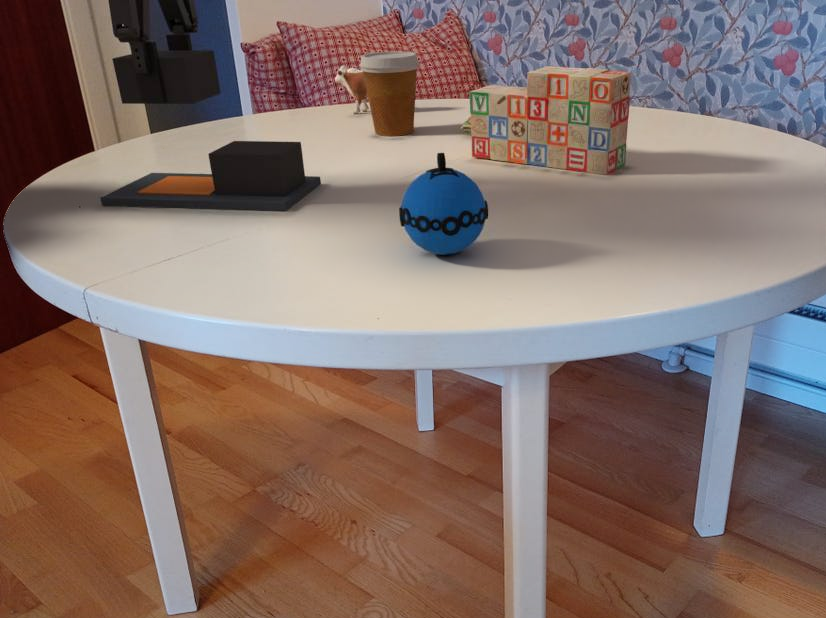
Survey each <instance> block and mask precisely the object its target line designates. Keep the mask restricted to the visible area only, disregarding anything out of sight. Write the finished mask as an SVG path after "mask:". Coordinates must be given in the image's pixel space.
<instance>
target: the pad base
mask: <svg viewBox="0 0 826 618" xmlns="http://www.w3.org/2000/svg"><path fill="white" fill-rule="evenodd" d="M207 155H208V159H209V160H208V161H209V167H210V173H184V172H183V173H179V172H150V173H148V174H146V175H144V176H142V177H140V178H138V179H136V180H133V181H132V182H129V183H127V184H126V185H122V187H119V188H117V189H115V190H113V191H111V192H108V193H106V194H104V195H103V196H101V197H99V200H100V204H101V206H107V207H134V208H135V207H136V208H137V207H139V208H167V209H169V208H172V209H205V210H232V211H233V210H237V211H239V210H240V211H267V212H268V211H271V212H273V211H274V212H287V211H288V210H289V209H290V208H292V207H293V206H294V205H296V204H297V203H298V202H299V201H300V200H302V199H303V198H305V197H306V196H307V195H309V194H310V193H311V192H313V191H314V190H316V189H317V188H318V187H319V186H321V184H322V180H321V176H314V175H313V176H312V175H310V176H309V175H306V172H305V165H304V157H303V148H302V142H301V141H269V140H267V141H266V140H265V141H264V140H263V141H261V140H233V141H231V142H229V143H227V144H225V145H223V146H221V147H219V148H217V149H215V150H213V151H211V152H209V153H208V154H207Z"/></svg>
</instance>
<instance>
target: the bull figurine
mask: <svg viewBox="0 0 826 618" xmlns="http://www.w3.org/2000/svg"><path fill="white" fill-rule="evenodd" d="M334 82H335V83H340V84H341V85H342V86H343V87H345V88H346V90H347V92H348V93H349V94H350V95H351V96H352V98H354V99H356V100H355V109H354V110H353V112H352V114H353V115H358V114H359V113H361V112H367V111H368V110H369V109H370V106H368V105H369V104H368V102H367V101H368V94H367V89H366V84H365V79H364V75H363V71H362V70H361V69H358V68H356V67H350V68H348V66H346V65H341V66H340V67H339V69H337V71H336V76H335V77H334ZM362 104H363V107H362V110H361V109H360V107H361V105H362Z"/></svg>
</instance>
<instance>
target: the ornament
mask: <svg viewBox="0 0 826 618" xmlns="http://www.w3.org/2000/svg"><path fill="white" fill-rule="evenodd" d="M436 163H437V167H435V168H431V169H428V170H426V171H425V172H424V173H422V174H420V175H419V176H418V177H416V178H415V179H414V180H413V181H412V182H411V183H410V185H409V186H408V187H407V189H406V190H405V193H404V196H403V198H402V202H401V205H400V207H398V214H399V223H400V227H403V228H404V230H405V232H406V234H407V235H408V237H409V238H410V240H411V241H412V242H413V243H415V244H416V246H418V247H419V248H421V249H422V250H424V251H425V252H429V253H431V254H434V255H438V256H451V255H454V254H458V253H461V252H462V251H464V250H466V249H467V248H469V247H470V246H471V245H473V244H474V243H475V241H476V240H477V239H478V238H479V237H480V235H481V233H482V231H483V229H484V226H485V223H486V220H488V219H489V205H488V201H487V200H485V197H484V194H483V192H482V191H481V189H480V188H479V185H478V184H477V183H476V182H475V181H474V180H473V179H472V178H471V177H470V176H468V175H466V174H465V173H464V172H461V171H458V170H457V169H454V168H453V167H447V162H446V155H445V152H438V153H437V154H436Z"/></svg>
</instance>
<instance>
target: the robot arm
mask: <svg viewBox="0 0 826 618" xmlns="http://www.w3.org/2000/svg"><path fill="white" fill-rule="evenodd" d="M107 1H108V9H109V13H110V21H111V27H112V33H113V36H114V37H115V38H116V39H117V40H118V41H119V42H120V43H124V44H125V43H128V45H129V48H130V52H131V53H130V54H132V58H133V63H134V67H135V70H136V74H137V79H138V84H139V88H140V93H141V98H142V103H165V102H167V98H166V93H165V88H164V83H163V78H162V73H161V68H160V63H159V57H158V52H157V51H158V47H157V42H156V41H151V20H150V19H151V16H150V14H151V11H150V10H151V9H150V7H151V5H150V4H151V3H150V0H107ZM157 2H158V4H159V7H160V9H161V12H162V15H163V17H164V20H165V22H166V25H167V29H168V31H169V32H170V33H169V34H165V38H166V43H167V50H168V51H180V50H193V46H192V45H193V44H192V39H191V35H190V34H198V32H199V26H198V25H199V18H198V12H197V8H196V4H195V0H157Z"/></svg>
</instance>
